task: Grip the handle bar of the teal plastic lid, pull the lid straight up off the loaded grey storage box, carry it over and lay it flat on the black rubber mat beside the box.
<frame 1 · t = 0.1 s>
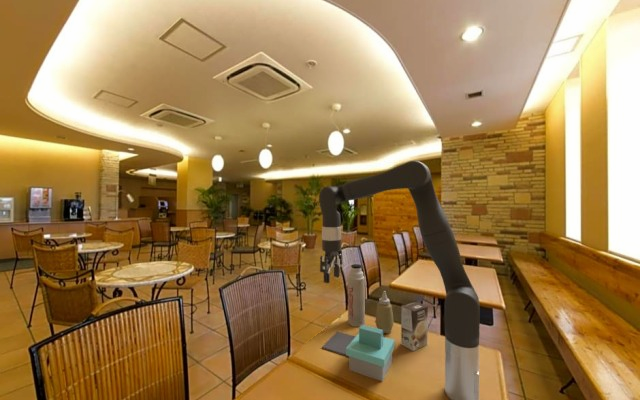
hand: (331, 279, 105), 29 cm above the table, tool pointing down, fingers open, 8 cm apart
squeeze bottle: (384, 331, 122), on the table
rubber mat: (344, 344, 111), on the table
lid: (371, 350, 97), point 5 cm above the table, touching storage box
coffee box: (414, 344, 111), on the table
thermos bottle: (356, 323, 130), on the table
storage box: (371, 365, 97), on the table
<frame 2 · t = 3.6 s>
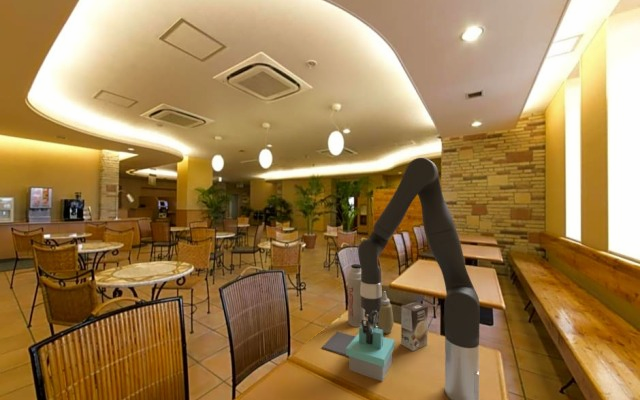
hand: (371, 340, 97), 9 cm above the table, tool pointing down, fingers closed on lid, 3 cm apart
lid: (371, 350, 97), point 6 cm above the table, touching gripper, storage box
everything else where it was.
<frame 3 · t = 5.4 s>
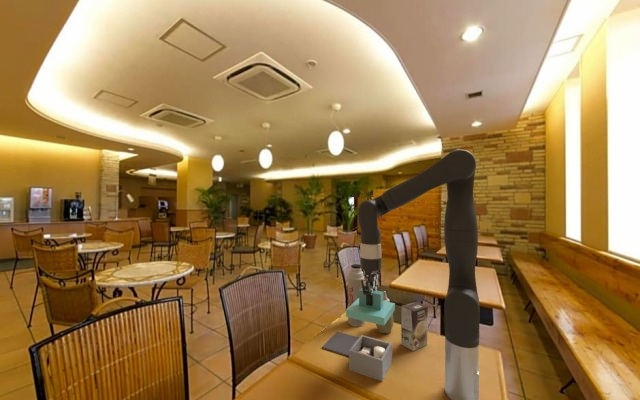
hand: (371, 303, 97), 23 cm above the table, tool pointing down, fingers closed on lid, 3 cm apart
lid: (371, 313, 97), point 19 cm above the table, touching gripper
everything else where it was.
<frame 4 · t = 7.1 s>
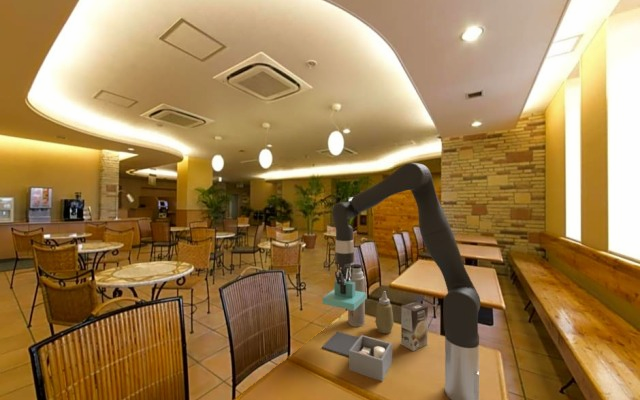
hand: (344, 292, 111), 22 cm above the table, tool pointing down, fingers closed on lid, 3 cm apart
lid: (344, 301, 111), point 18 cm above the table, touching gripper
everything else where it was.
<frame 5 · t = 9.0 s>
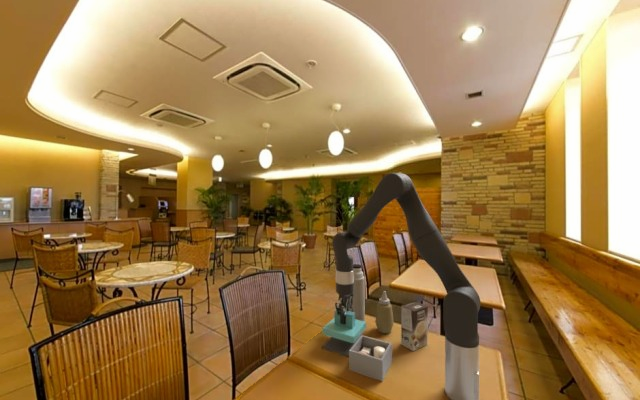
hand: (344, 321, 111), 9 cm above the table, tool pointing down, fingers closed on lid, 3 cm apart
lid: (344, 330, 111), point 6 cm above the table, touching gripper
everything else where it was.
when the fingers open (6 cm above the table, at t = 10.6 s): lid drops 1 cm, resting on rubber mat.
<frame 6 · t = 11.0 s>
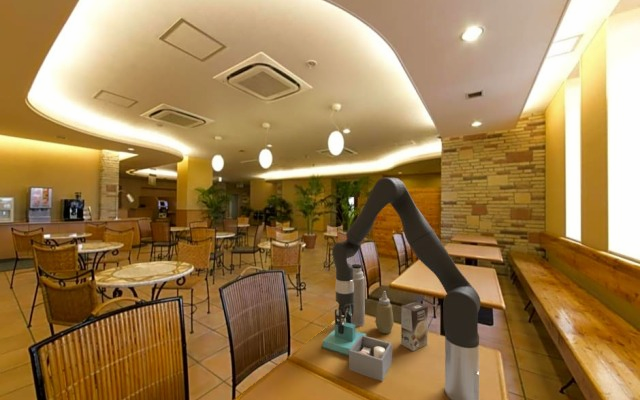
hand: (344, 329, 111), 6 cm above the table, tool pointing down, fingers open, 7 cm apart
lid: (345, 343, 111), point 1 cm above the table, touching rubber mat
everything else where it was.
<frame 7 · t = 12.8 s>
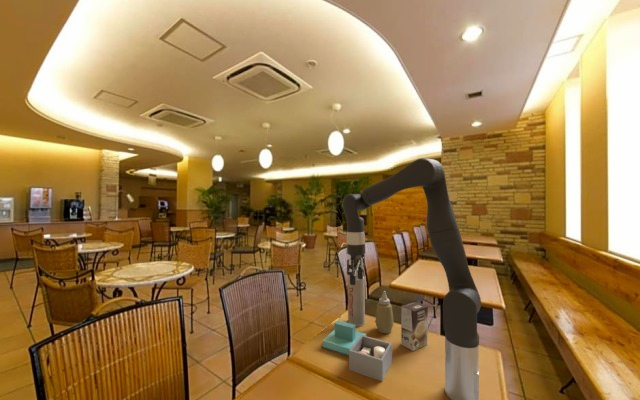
hand: (356, 281, 111), 26 cm above the table, tool pointing down, fingers open, 8 cm apart
nothing on the table moved.
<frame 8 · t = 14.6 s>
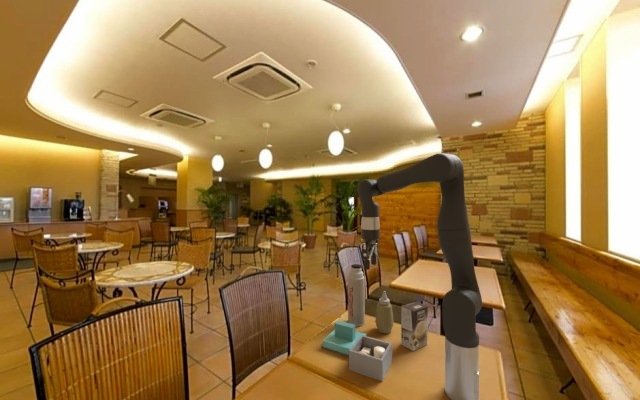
hand: (370, 266, 111), 32 cm above the table, tool pointing down, fingers open, 8 cm apart
nothing on the table moved.
at the end: lid inside the target area on the rubber mat (0.1 cm from its centre), point 0.6 cm above the rubber mat's base; lid tilted 0°; the gripper is holding nothing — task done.
